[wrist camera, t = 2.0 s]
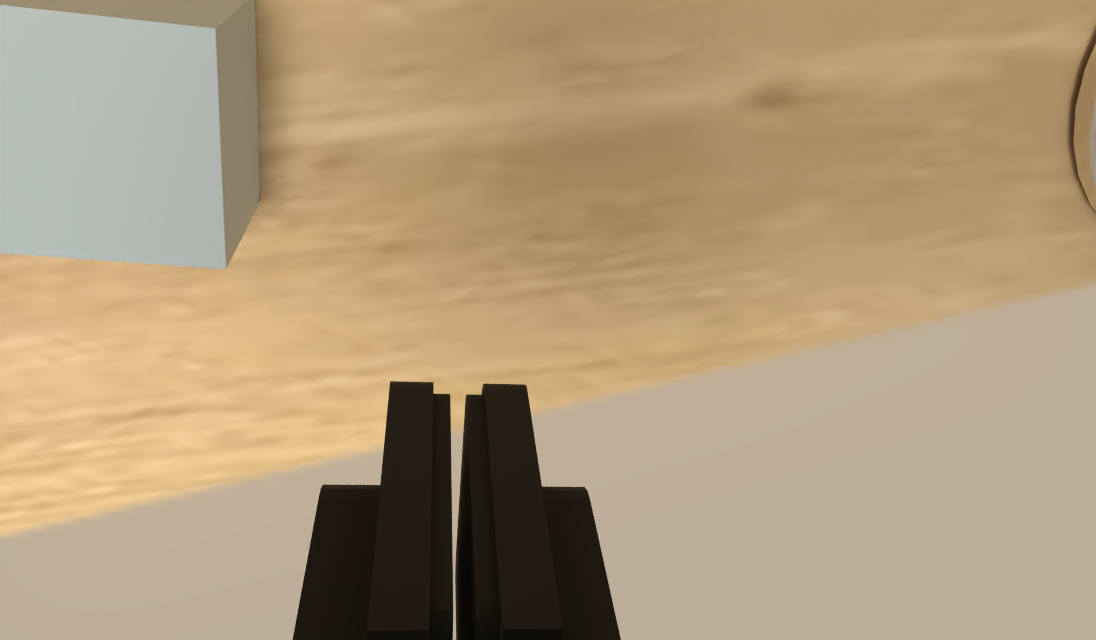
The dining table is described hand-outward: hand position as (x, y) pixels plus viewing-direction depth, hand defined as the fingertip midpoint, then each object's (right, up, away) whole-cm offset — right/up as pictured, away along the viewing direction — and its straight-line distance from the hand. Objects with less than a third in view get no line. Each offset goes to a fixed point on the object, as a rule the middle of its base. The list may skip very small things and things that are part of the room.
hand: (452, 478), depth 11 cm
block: (-11, +9, +14) cm, 20 cm away
